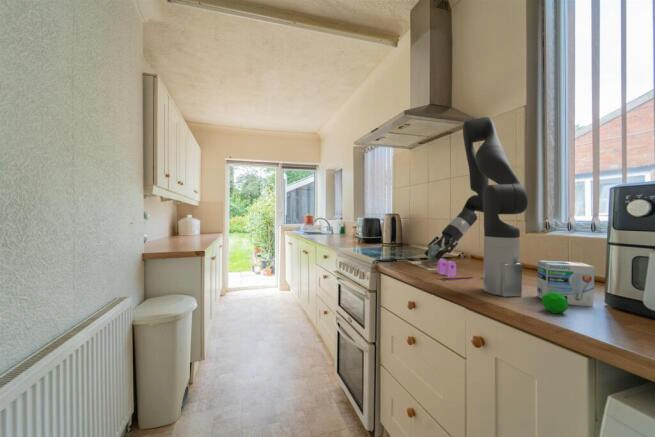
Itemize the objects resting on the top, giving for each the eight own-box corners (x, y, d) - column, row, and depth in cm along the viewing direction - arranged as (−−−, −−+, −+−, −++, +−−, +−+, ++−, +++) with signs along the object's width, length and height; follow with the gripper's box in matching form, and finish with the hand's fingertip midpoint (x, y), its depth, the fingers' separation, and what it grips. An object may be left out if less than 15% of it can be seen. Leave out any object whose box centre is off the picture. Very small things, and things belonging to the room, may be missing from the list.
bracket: (447, 280, 99) (448, 261, 99) (437, 277, 104) (437, 259, 104) (475, 278, 103) (476, 260, 103) (464, 275, 108) (464, 257, 108)
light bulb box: (546, 303, 74) (547, 263, 74) (535, 296, 81) (536, 259, 80) (595, 307, 71) (596, 266, 71) (579, 299, 77) (580, 261, 77)
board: (453, 272, 112) (453, 269, 112) (428, 273, 110) (428, 269, 110) (428, 263, 132) (428, 260, 132) (406, 264, 130) (406, 261, 130)
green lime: (569, 312, 67) (569, 293, 67) (566, 317, 64) (567, 297, 64) (543, 307, 71) (543, 289, 71) (539, 311, 67) (540, 292, 67)
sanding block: (446, 268, 113) (446, 247, 112) (433, 269, 112) (433, 247, 112) (433, 264, 123) (433, 244, 122) (421, 264, 122) (421, 244, 121)
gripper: (440, 223, 125) (417, 248, 123) (460, 224, 111) (434, 253, 109) (451, 234, 126) (428, 259, 124) (472, 237, 112) (446, 265, 110)
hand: (431, 256), depth 117 cm, fingers open, 8 cm apart
